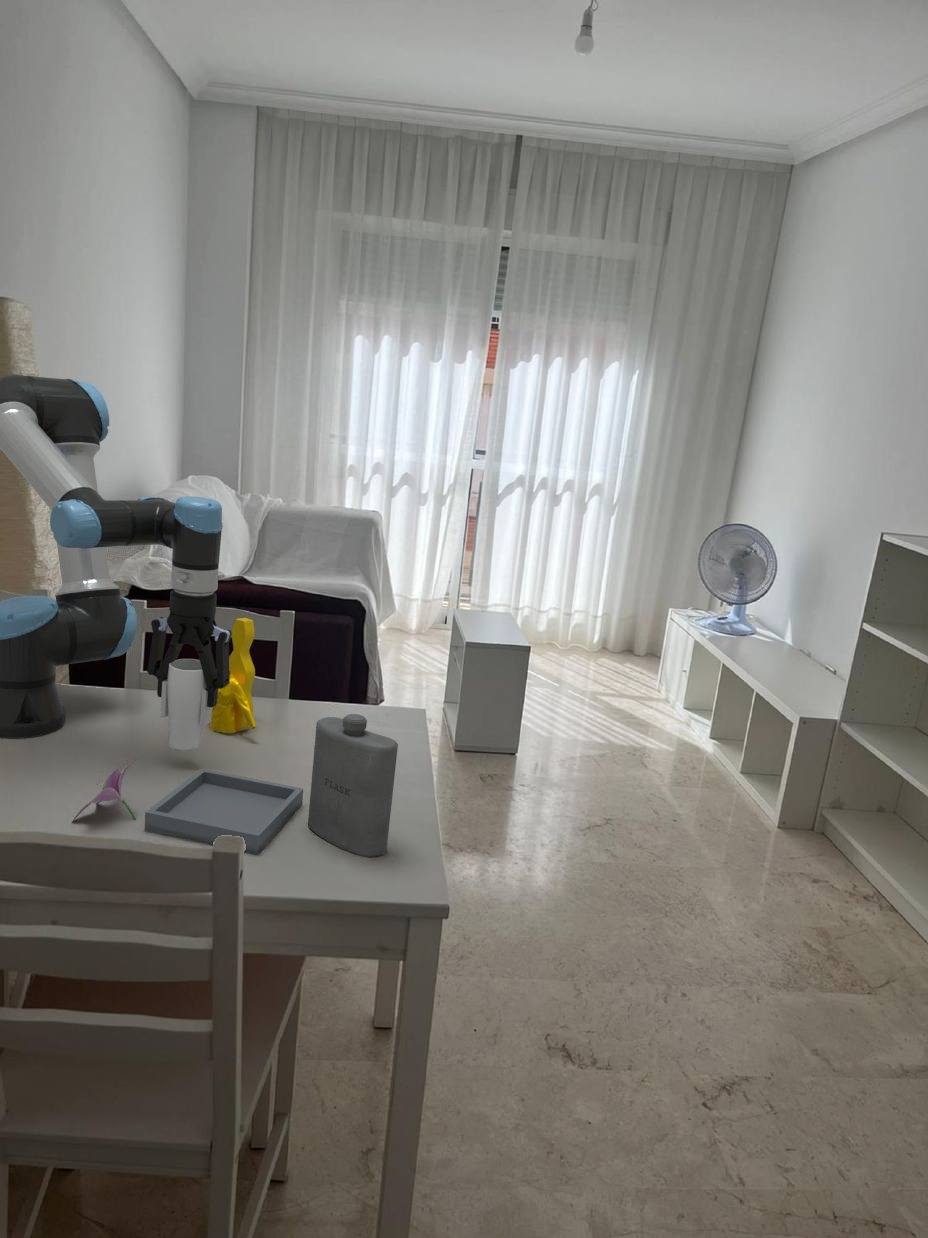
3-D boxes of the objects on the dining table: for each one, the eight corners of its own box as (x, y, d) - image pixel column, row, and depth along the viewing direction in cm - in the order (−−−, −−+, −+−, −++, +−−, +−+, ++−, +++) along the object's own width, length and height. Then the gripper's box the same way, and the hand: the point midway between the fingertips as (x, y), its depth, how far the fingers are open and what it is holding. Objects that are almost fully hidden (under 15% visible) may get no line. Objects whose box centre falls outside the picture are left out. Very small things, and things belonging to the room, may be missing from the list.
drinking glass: (192, 756, 157) (198, 673, 153) (156, 749, 158) (160, 666, 154) (211, 743, 163) (216, 662, 160) (176, 735, 164) (180, 655, 161)
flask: (297, 826, 144) (307, 706, 140) (323, 816, 149) (334, 699, 144) (367, 863, 136) (380, 736, 131) (393, 850, 140) (406, 727, 136)
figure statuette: (182, 720, 182) (188, 612, 177) (213, 712, 188) (219, 607, 183) (246, 746, 173) (254, 634, 168) (276, 737, 179) (284, 628, 174)
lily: (136, 800, 149) (107, 750, 146) (179, 797, 142) (149, 744, 139) (76, 846, 140) (44, 793, 137) (118, 845, 133) (85, 789, 130)
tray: (144, 830, 137) (145, 812, 136) (200, 785, 154) (201, 768, 154) (257, 854, 134) (258, 835, 134) (302, 805, 152) (303, 788, 151)
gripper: (128, 584, 152) (122, 715, 157) (239, 605, 149) (229, 737, 154) (151, 577, 159) (145, 702, 165) (257, 596, 156) (247, 723, 162)
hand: (185, 719), depth 159 cm, fingers closed on drinking glass, 7 cm apart
